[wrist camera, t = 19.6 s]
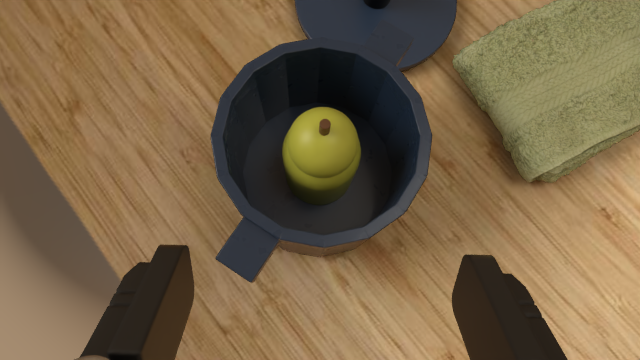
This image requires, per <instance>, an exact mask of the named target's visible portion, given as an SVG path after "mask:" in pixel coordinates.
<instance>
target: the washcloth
mask: <svg viewBox="0 0 640 360" xmlns="http://www.w3.org/2000/svg"><path fill="white" fill-rule="evenodd" d="M454 57H455V58H454V59H453V67H454V68H455V70H456V71H457V72H458V73H460V77H461V79H462V80H464V82H465V84H466V85H467V87H468V88H470V91H471V92H472V94H473V95H474V97H475V99H476V100H477V103H478V106H480V107H481V110H483V111H485V112H487V113H488V114H489V116H490V118H491V120H492V121H493V123H494V125H495V127H496V128H497V129H498V130H499V132H500V133H501V135H502V136H503V139H502V143H503V145H504V148H505V149H506V151H509V152H510V153H511V157H512V159H513V160H514V164H515V166H516V167H517V168H518V172H519V174H520V175H521V176H522V178H524V179H525V180H526V181H527V182H532V181H534V180H539V181H540V180H543V181H544V182H548V183H553V182H555V181H556V180H557V179H558V178H560V177H561V176H565V175H569V173H570V172H571V171H573V170H575V169H577V167H580V166H581V165H582V164H585V163H586V161H587V160H588V159H589V158H591V157H593V156H595V155H596V154H597V153H599V152H601V151H603V150H605V149H607V148H610V147H611V145H612V144H616V142H620V141H621V139H624V138H626V137H629V136H631V135H632V134H633V133H635V132H638V131H639V130H640V0H557V1H553V2H551V3H550V4H549V5H544V7H542V8H541V9H535V10H534V11H530V12H528V14H525V15H523V17H521V18H520V19H513V20H512V21H508V22H507V23H505V24H504V26H503V25H500V26H498V27H497V28H496V29H495V30H494V31H493V32H492V31H491V32H490V33H489V34H487V35H485V36H483V37H481V38H480V39H479V40H477V41H473V44H471V45H469V46H467V47H465V48H464V49H462V50H461V51H460V54H457V55H454Z"/></svg>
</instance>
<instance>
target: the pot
mask: <svg viewBox="0 0 640 360" xmlns="http://www.w3.org/2000/svg"><path fill="white" fill-rule="evenodd" d="M413 40H414V37H412V36H410V35H409V34H407V33H405V32H404V31H402V30H400V29H398V28H397V27H395V26H393V25H391V24H390V23H388V22H386V21H385V20H383V19H382V20H381V21H380V22H379V24H378V25H377V27H376V28H375V30H374V31H373V32H372V34H371V35H370V37H369V38H368V40H367V41H366V42H365V44H364V45H363V46H362V45H360V44H357V43H351V42H346V41H340V40H335V39H329V38H324V37H321V38H320V37H318V38H313V39H307V40H301V41H295V42H290V43H284V44H281V45H278V46H276V47H275V48H273V49H271V50H269V51H268V52H266V53H264V54H263V55H261V56H259V57H258V58H256V59H254V60H253V61H251V62H249V63H247V64H246V65H245V66H244V67H243V68H242V70H241V71H240V72H239V74H238V75H237V76H236V77H235V79H234V80H233V81H232V83H231V84H230V85H229V87H228V88H227V89H226V90H225V92H224V93H223V94H222V96H221V98H220V101H219V105H218V109H217V113H216V117H215V120H214V124H213V128H212V132H211V143H212V149H213V155H214V161H215V168H216V174H217V178H218V180H219V182H220V183H221V185H222V186H223V188H224V189H225V191H226V192H227V194H228V195H229V197H230V198H231V200H232V201H233V203H234V204H235V206H236V208H237V209H238V211H239V212H240V214H241V215H242V216H243V219H242V220H241V222H240V223H239V225H238V226H237V227H236V229H235V230H234V232H233V233H232V235H231V236H230V237H229V239H228V240H227V242H226V243H225V245H224V246H223V247H222V249H221V250H220V252H219V253H218V255H217V256H216V260H218V261H219V262H221V263H222V264H224V265H225V266H227V267H228V268H230V269H231V270H233V271H234V272H235V273H237V274H238V275H240V276H241V277H243V278H244V279H246V280H247V281H249V282H254V281H255V279H256V278H257V276H258V275H259V273H260V272H261V270H262V269H263V267H264V266H265V264H266V263H267V261H268V260H269V258H270V257H271V255H272V254H273V252H274V251H275V249H276V248H277V246H279V247H281V248H282V249H284V250H286V251H290V252H295V253H299V254H304V255H311V256H317V257H319V256H320V257H322V256H327V255H332V254H337V253H341V252H345V251H350V250H353V249H355V248H356V247H358V246H359V245H361V244H362V243H364V242H365V241H366V240H368V239H369V238H371V237H372V236H374V235H375V234H376V233H378V232H379V231H381V230H382V229H383V228H385V227H386V226H388V225H389V224H390V223H392V222H393V221H395V220H396V219H398V218H399V217H400V216H402V215H403V214H404V213H405V212H406V211H407V209H408V208H409V206H410V204H411V203H412V201H413V199H414V198H415V196H416V194H417V193H418V191H419V189H420V188H421V186H422V184H423V183H424V181H425V179H426V176H427V174H428V166H429V158H430V150H431V142H432V133H431V129H430V126H429V123H428V119H427V116H426V112H425V109H424V105H423V102H422V99H421V97H420V95H419V94H418V92H417V91H416V90H415V89H414V87H413V86H412V85H411V84H410V82H409V81H408V80H407V79H406V77H405V76H404V75H403V74H402V72H401V71H400V70H399V69H398V67H397V66H398V65H399V63H400V61H401V60H402V58H403V57H404V55H405V54H406V52H407V51H408V49H409V48H410V46H411V44H412V42H413ZM316 107H329V108H333V109H336V110H338V111H340V112H342V113H343V114H345V115H346V116H347V117H348V118H349V119H350V120H351V122H352V123H353V125H354V127H355V129H356V132H357V136H358V139H359V142H360V147H361V158H360V162H359V166H358V168H357V171H356V173H355V175H354V177H353V179H352V181H351V184H350V186H349V188H348V190H347V191H346V192H345V194H344V195H343V196H342V197H341V198H339V199H338V200H336V201H334V202H332V203H329V204H326V205H313V204H309V203H306V202H304V201H302V200H300V199H299V198H298V197H296V196H295V195H294V193H293V192H292V191H291V189H290V188H289V186H288V183H287V180H286V175H285V169H284V164H283V157H282V147H283V142H284V139H285V136H286V134H287V132H288V131H289V129H290V128H291V126H292V124H293V122H294V121H295V120H296V119H297V118H298V117H299V116H300V115H301V114H302V113H304V112H306V111H307V110H310V109H312V108H316Z"/></svg>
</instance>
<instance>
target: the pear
mask: <svg viewBox="0 0 640 360" xmlns="http://www.w3.org/2000/svg"><path fill="white" fill-rule="evenodd" d="M282 157H283V164H284V169H285V175H286V180H287V183H288V186H289V188H290V189H291V191H292V192H293V193H294V195H295V196H296V197H298V198H299V199H300V200H302V201H304V202H306V203H309V204H313V205H326V204H329V203H332V202H334V201H336V200H338V199H339V198H341V197H342V196H343V195H344V194H345V192H346V191H347V190H348V188H349V186H350V184H351V181H352V179H353V177H354V175H355V173H356V171H357V168H358V166H359V162H360V158H361V147H360V142H359V139H358V136H357V132H356V129H355V127H354V125H353V123H352V122H351V120H350V119H349V118H348V117H347V116H346V115H345V114H343V113H342V112H340V111H338V110H336V109H333V108H329V107H316V108H312V109H310V110H307V111H306V112H304V113H302V114H301V115H300V116H299V117H298V118H297V119H296V120H295V121H294V122H293V124H292V126H291V128H290V129H289V131H288V132H287V134H286V136H285V139H284V142H283V147H282Z"/></svg>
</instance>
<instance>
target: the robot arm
mask: <svg viewBox="0 0 640 360" xmlns="http://www.w3.org/2000/svg"><path fill="white" fill-rule="evenodd" d="M193 299H194V279H193V273H192V266H191V259H190V253H189V248H188V246H186V245H159V247H158V248H157V250H156V252H155V254H154V256H153V258H152V260H151V262H150V263H147V262H139V263H138V264H137V265H136V266H135V267H133V268H132V269H131V270H130V271H129V272H128V273H127V274H126V275H125V276H124V277H123V279H122V281H121V283H120V285H119V287H118V288H117V292H116V293H115V294H114V296H113V298H112V300H111V302H110V306H108V307H107V309H106V311H105V312H104V314H103V316H102V318H101V320H100V322H99V323H98V325H97V327H96V329H95V331H94V333H93V335H92V336H91V338H90V340H89V342H88V344H87V346H86V347H85V349H84V351H83V353H82V354H81V356H80V357H79V358H77V359H75V360H175V357H176V354H177V350H178V347H179V344H180V341H181V338H182V335H183V332H184V329H185V326H186V323H187V320H188V317H189V313H190V310H191V307H192V304H193ZM452 307H453V312H454V315H455V318H456V321H457V324H458V326H459V329H460V332H461V335H462V338H463V341H464V343H465V346H466V349H467V352H468V355H469V357H470V360H567V358H566V356H565V354H564V353H563V351H562V349H561V347H560V346H559V344H558V342H557V340H556V339H555V337H554V335H553V334H552V332H551V330H550V328H549V327H548V325H547V323H546V321H545V320H544V318H542V315H541V313H540V311H539V309H538V308H537V306H536V305H534V301H533V299H532V297H531V295H530V294H529V292H528V290H527V289H526V287H525V286H524V285H523V284H522V283H521V282H519V281H518V280H517V279H516V278H515V277H514V276H513V275H512V274H503V273H502V271H501V269H500V267H499V265H498V263H497V261H496V260H495V258H494V257H493V256H491V255H464V257H463V258H462V261H461V265H460V268H459V272H458V275H457V279H456V282H455V286H454V289H453V293H452Z"/></svg>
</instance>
